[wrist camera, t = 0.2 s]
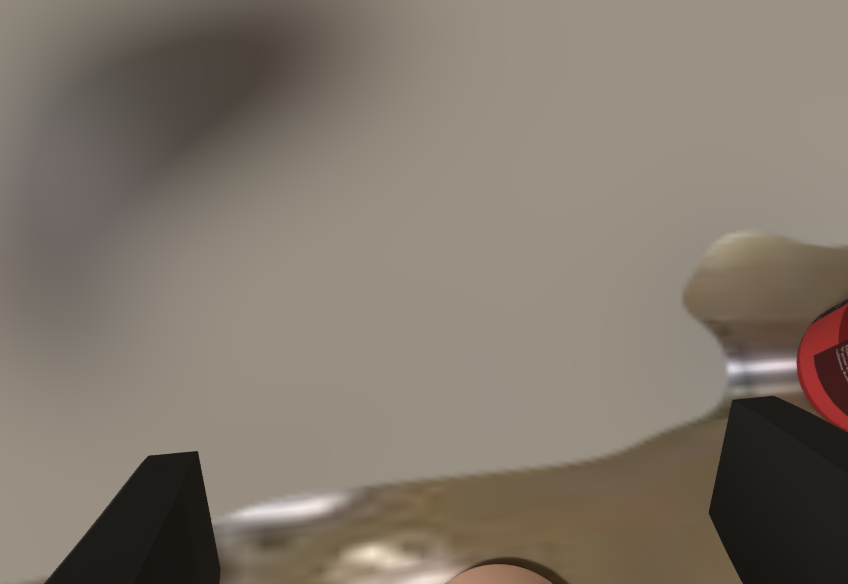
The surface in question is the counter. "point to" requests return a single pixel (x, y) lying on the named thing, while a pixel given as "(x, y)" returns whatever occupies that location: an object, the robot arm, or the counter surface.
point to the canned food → (826, 365)
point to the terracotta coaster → (498, 575)
